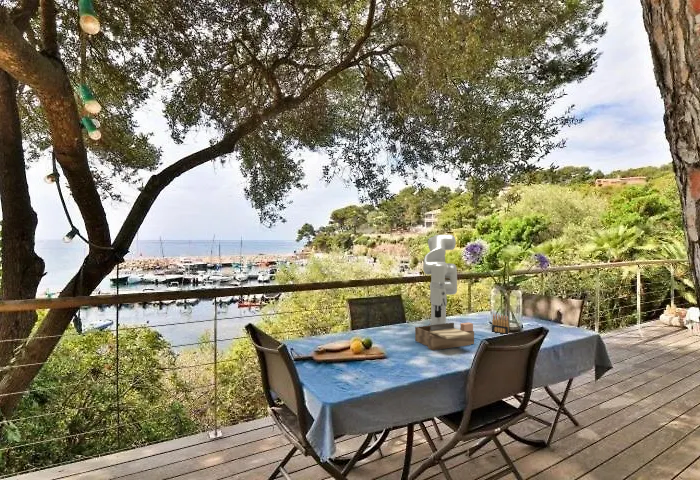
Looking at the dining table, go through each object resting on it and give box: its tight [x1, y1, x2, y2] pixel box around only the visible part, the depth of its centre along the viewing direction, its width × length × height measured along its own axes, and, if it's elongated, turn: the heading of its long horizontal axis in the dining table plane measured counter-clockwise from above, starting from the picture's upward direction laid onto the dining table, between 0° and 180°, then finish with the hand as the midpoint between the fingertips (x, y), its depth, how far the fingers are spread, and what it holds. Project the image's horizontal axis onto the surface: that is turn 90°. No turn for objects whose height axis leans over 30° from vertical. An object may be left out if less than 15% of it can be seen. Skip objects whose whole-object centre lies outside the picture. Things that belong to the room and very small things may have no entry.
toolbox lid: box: [430, 322, 472, 339], centre depth 237 cm, size 16×16×4 cm
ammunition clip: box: [491, 313, 510, 336], centre depth 271 cm, size 11×2×12 cm, turn 45°
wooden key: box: [459, 322, 474, 332], centre depth 247 cm, size 4×6×4 cm, turn 114°
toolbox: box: [414, 324, 475, 351], centre depth 250 cm, size 21×28×8 cm
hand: (438, 317), depth 248 cm, fingers closed
